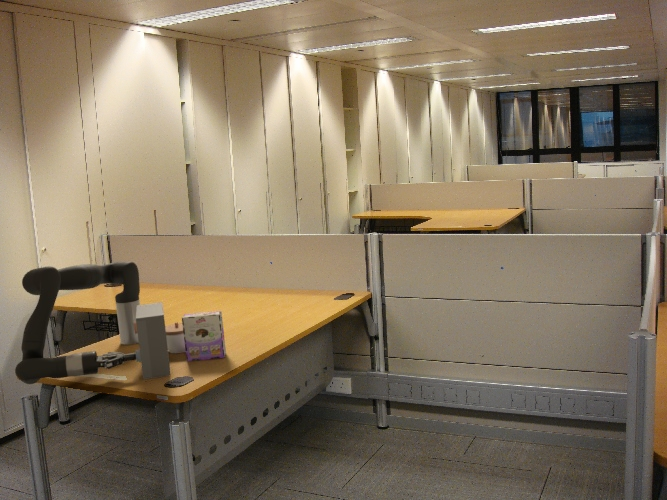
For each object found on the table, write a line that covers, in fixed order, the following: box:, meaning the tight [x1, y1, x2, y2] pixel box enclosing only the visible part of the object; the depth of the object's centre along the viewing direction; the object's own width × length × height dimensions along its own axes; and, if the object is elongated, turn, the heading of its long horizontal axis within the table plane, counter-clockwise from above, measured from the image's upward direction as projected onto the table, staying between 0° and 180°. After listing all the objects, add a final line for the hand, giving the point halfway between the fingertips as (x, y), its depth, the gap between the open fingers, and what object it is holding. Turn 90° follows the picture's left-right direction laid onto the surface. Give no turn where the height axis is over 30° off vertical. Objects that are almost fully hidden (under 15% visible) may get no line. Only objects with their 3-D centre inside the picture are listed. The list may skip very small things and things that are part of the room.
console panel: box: [136, 301, 171, 380], centre depth 232 cm, size 9×22×21 cm, turn 15°
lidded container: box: [165, 321, 186, 354], centre depth 253 cm, size 13×13×11 cm
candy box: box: [181, 310, 227, 362], centre depth 240 cm, size 14×6×16 cm, turn 92°
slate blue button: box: [134, 349, 141, 363], centre depth 226 cm, size 6×4×4 cm, turn 105°
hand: (136, 356), depth 225 cm, fingers closed
